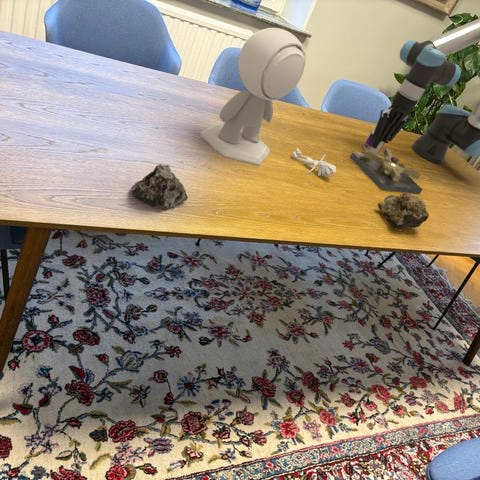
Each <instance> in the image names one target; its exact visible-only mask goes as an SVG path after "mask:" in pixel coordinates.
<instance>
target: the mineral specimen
mask: <svg viewBox="0 0 480 480" xmlns="http://www.w3.org/2000/svg"><path fill="white" fill-rule="evenodd" d="M383 201H384V202H383ZM383 201H382V202H381V201H380V202H378V203H377V206H378V209H380V210H381V212H382V214H383V216H384V217H385V218H386V219H387V222H388V223H389V224H390V225H391V227H392V228H393V229H395V230H397V231H402V230H404V229H416V228H419V227H420V226H421V225H423V223H425V222H426V221H427V220H428V218H429V216H430V214H429V212H428V211H427V207H426V203H425V202H424V201H423V198H419V196H418V195H416V194H413V195H412V193H405V192H404V193H401V194H400V195H395V194H390V195H387V196H386V197H385V198H384V200H383Z"/></svg>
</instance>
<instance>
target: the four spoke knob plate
mask: <svg viewBox="0 0 480 480" xmlns="http://www.w3.org/2000/svg"><path fill="white" fill-rule="evenodd" d="M362 152H363V157H366V158H368V159H370V160H373V161H375V162H378V163H380V165H379V167H380V169H381V170H382V171H383V172H385V173H386V174H388V175H390V176H391V177H392V180H394V181H397V182H398V181H399V179H400V178H401V176H400V175H401V173H404V174H406V175H408V176H409V177H410V178H411V177H412V178H413V179H415V180H419V178H420V177H421V172H419V171H417V170H415V169H413V168H410V167H408V166H406V165H405V164H403V163H402V162H401V161H400V160H399V159H398V158H397V157H396V156H394V155H393V152H392V150H390V149H388V148H385V149H384V151H383V153H382V154H383V156H382V155H380V154H379V153H378V154H375V153H373V152H371V151H368V150H366V149H364V151H362Z"/></svg>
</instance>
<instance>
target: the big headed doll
mask: <svg viewBox="0 0 480 480" xmlns="http://www.w3.org/2000/svg"><path fill="white" fill-rule="evenodd" d="M237 67H238V73H239V77H240V79H241V82H242V83H243V86H245V88H246V89H243V90H241V91H239V92H237V93H236V94H234V95H233V96H232V97H231V98H230V99H228V101H226V103H225V105H224V106H223V107H222V109H221V110H220V113H219V120H221V121H218V120H217V121H214V122H213V123H212V124H210V125H208V126H207V127H206V128H205V129H204V130H202V131H201V132H200V133H199V136H200V137H201V138H202V139H203V140H204V141H205V142H206V143H207V144H208V145H209V146H210V147H212V148H213V149H214V150H215V151H216V152H217V153H218V154H219V155H221V157H223V158H227V159H230V160H234V161H239V162H242V163H246V164H251V165H253V166H260V165H261V164H262V163H263V162H264V161H265V160H266V158H267V156H269V154H270V152H271V151H270V148H269V146H267V145H266V144H265V143H264V142H263V141H262V140H260V137H259V136H260V132H261V129H262V128H261V127H262V123H263V120H264V121H265V122H266V123H271V121H272V119H273V116H274V107H273V106H274V104H273V101H277V100H281V98H283V97H285V96H287V95H288V94H290V93H291V92H292V91H293V90H294V89H295V88H296V87H297V85H298V84H299V83H300V81H301V79H302V76H303V75H304V69H305V67H306V51H305V49H304V46H303V44H302V43H301V41H300V40H299V39H298V38H297V37H296V35H294V34H293V33H291V32H290V31H288V30H286V29H283V28H279V27H266V28H263V29H260V30H258V31H256V32H254V33H253V34H252V35H251V36H250V37H249V38H248V39H247V40H246V41H245V42H244V44H243V46H242V47H241V50H240V52H239V55H238V63H237Z"/></svg>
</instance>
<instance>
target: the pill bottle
mask: <svg viewBox="0 0 480 480" xmlns="http://www.w3.org/2000/svg"><path fill="white" fill-rule="evenodd" d="M374 131H375V129H373V130H371V132H370V133H369V135H368V137H367V139H366V140H365V142H364V144H363V146H362V148H363V149H364V150H365V149H366V150H368V151H369V150H370V149H371V147H372V144H373V143H374V141H375V139H376V137H375V136H374V135H373V134H374Z"/></svg>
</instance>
